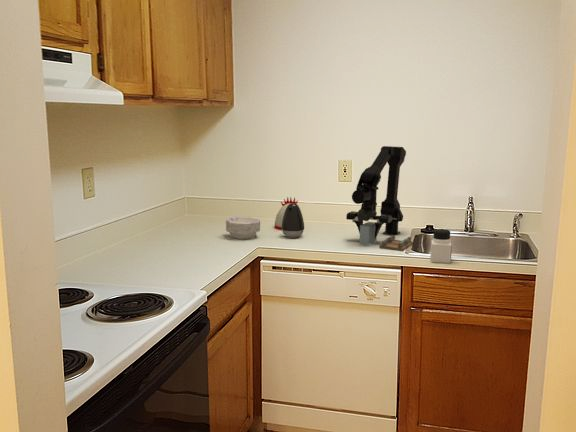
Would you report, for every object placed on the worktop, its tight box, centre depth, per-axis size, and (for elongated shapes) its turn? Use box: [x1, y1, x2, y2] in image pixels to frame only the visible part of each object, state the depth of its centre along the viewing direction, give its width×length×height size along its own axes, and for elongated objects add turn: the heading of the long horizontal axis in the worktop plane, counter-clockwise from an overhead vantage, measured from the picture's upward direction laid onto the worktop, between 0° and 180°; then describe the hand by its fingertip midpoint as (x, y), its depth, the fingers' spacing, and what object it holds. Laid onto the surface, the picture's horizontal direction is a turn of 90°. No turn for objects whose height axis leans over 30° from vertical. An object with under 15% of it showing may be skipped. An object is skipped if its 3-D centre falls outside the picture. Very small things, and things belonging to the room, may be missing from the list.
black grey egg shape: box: [281, 203, 305, 239], centre depth 261 cm, size 10×10×15 cm
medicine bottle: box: [430, 228, 453, 264], centre depth 221 cm, size 7×7×12 cm
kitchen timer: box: [274, 196, 299, 231], centre depth 281 cm, size 14×14×15 cm
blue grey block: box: [359, 221, 378, 246], centre depth 252 cm, size 10×4×8 cm, turn 152°
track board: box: [378, 235, 414, 252], centre depth 245 cm, size 14×10×3 cm
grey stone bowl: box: [225, 216, 261, 240], centre depth 261 cm, size 15×15×8 cm
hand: (368, 236), depth 252 cm, fingers open, 6 cm apart
